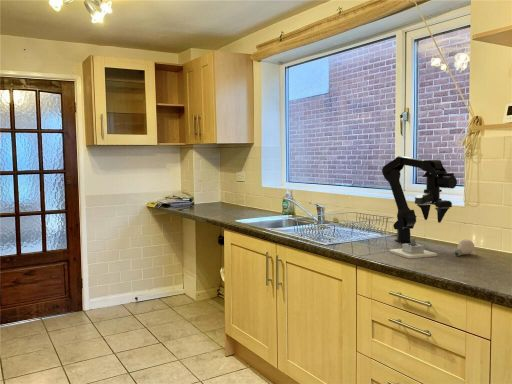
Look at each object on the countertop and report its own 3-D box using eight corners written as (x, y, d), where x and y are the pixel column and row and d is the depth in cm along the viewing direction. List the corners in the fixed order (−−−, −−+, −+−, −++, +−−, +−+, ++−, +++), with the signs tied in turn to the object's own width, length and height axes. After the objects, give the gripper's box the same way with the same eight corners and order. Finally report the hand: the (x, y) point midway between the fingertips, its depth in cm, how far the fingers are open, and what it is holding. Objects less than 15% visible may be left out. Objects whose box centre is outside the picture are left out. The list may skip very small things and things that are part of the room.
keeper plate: (389, 251, 204) (389, 237, 204) (416, 249, 208) (416, 235, 208) (408, 258, 191) (409, 243, 190) (437, 255, 195) (437, 240, 195)
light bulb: (460, 246, 191) (474, 236, 196) (446, 247, 196) (460, 237, 202) (465, 261, 191) (479, 250, 197) (451, 261, 197) (465, 251, 203)
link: (402, 250, 202) (402, 243, 201) (414, 249, 204) (414, 242, 203) (411, 253, 196) (411, 246, 195) (423, 252, 198) (424, 245, 197)
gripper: (405, 186, 217) (405, 219, 219) (431, 189, 200) (431, 225, 201) (425, 185, 221) (424, 218, 222) (453, 188, 203) (452, 223, 204)
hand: (432, 221), depth 212 cm, fingers open, 9 cm apart
